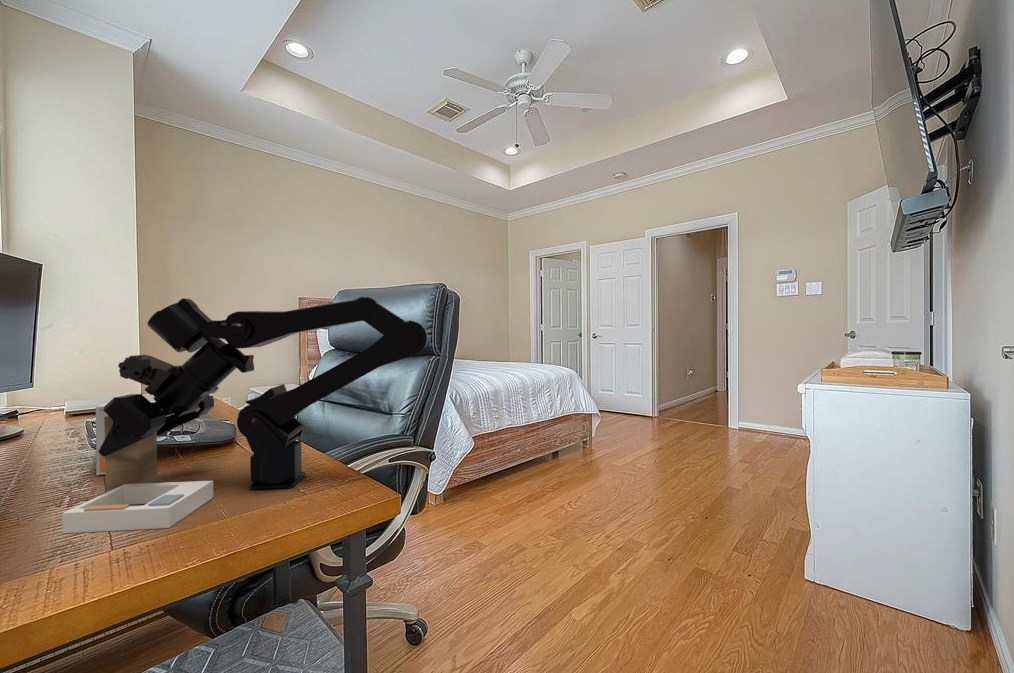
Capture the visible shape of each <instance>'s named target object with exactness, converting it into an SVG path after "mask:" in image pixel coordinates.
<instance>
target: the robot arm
mask: <svg viewBox="0 0 1014 673" xmlns="http://www.w3.org/2000/svg"><path fill="white" fill-rule="evenodd" d="M360 322H364V323H366V324H368V325H369V326H370V327H371V328H373V329H374V330H376V331H378V333H380V334H382V336H381V337H380V338H379V339H377V341H375V342H374V343H373V344H372V345H370V346H369V347H368V348H366V349H364V350H362V351H361V352H358V353H357V354H355V355H354V356H352V357H350V358H348V359H346V360H345V361H342V362H340V363H339V364H337V365H335V366H334V367H331V368H329V369H328V370H326V371H324V372H322V373H321V374H319V375H317V376H314V377H313V378H311V379H310V380H308V381H306V382H304V383H302V384H300V385H298V386H297V387H294V388H292V389H290V390H287V388H286V385H285V383H283V384H280V385H277V386H273V387H271V388H269V389H268V390H266V391H265V392H263V393H262V394H261V395H260V396H256V397H254V398H251V399H248V400H246V401H245V404H247V405H246V406H244V407H243V408H242V409H241V410H240V411H239V412H238V416H237V419H236V423H237V424H236V426H237V428H238V431H239V433H240V434H241V435H242V436H244V437H245V438H246V441H247V444H248V445H249V447H250V450H251V452H252V453H253V454H252V455H251V456H250V458H249V461H250V463H249V464H250V466H249V467H250V482H251V484H249V485H248V489H249V490H264V489H265V490H267V489H283V488H284V489H285V488H293V487H294V486H295V485H296V484H297V483H298V482H299V481H300V480H301V479H302V478H304V477H305V476H306V471H302V466H303V465H302V462H303V461H302V441H301V440H298V439H300V438H301V437H302V436H303V433H304V430H305V425H304V424H303V423H302V422H301V421H300V420H299V419H297V417H298V416H299V415H300V414H301V413H302V412H303V411H305V410H306V409H307V408H308V407H310V406H311V405H313V404H315V403H317V402H319V401H321V400H322V399H324V398H326V397H327V396H329V395H331V394H333V393H335V392H337V391H339V390H340V389H342V388H344V387H346V386H347V385H349V384H351V383H353V382H355V381H356V380H358V379H360V378H361V377H364V376H365V375H367V374H370V373H371V372H372V371H375V370H377V369H378V368H380V367H383V366H385V365H389V364H391V363H394V362H398V361H401V360H404V359H406V358H409V357H413V356H416V355H418V354H420V352H422V351H423V350H424V349H425V347H426V346H427V343H428V337H429V335H428V331H427V328H425V327H424V325H423V324H421V323H419V322H417V321H414V320H404V319H403V318H401V317H400V316H398V315H397V314H395V313H394V312H392V311H390V310H389V309H388V308H386V307H384V306H382V305H381V304H380V303H379V302H378V301H377V300H376V299H374V298H372V297H370V296H360V297H358V298H356V299H350V300H346V301H345V300H344V301H338V302H332V303H327V304H322V305H320V304H319V305H315V306H310V307H304V308H298V309H292V310H287V311H285V310H284V311H279V310H278V311H277V310H275V311H273V310H272V311H270V310H269V311H268V310H267V311H265V310H263V311H261V310H259V311H258V310H257V311H256V310H253V311H252V310H251V311H244V310H242V311H234V312H232V313H230V314H228V315H227V317H226V318H225V319H223V320H222V319H221V320H212V319H211V318H210V317H209V316H208V315H207V314H206V313H205V312H203V311H202V310H201V308H199V306H198V305H197V304H196V302H194V300H192V299H190V298H183V297H181V299H180V300H178V301H177V302H176V303H172V304H170V305H168V306H166V307H163V308H162V309H161V310H156V312H154V313H153V314H152V316H150V318H149V319H148V321H147V326H148V327H149V329H151V330H152V331H153V332H154V333H155V334H156V335H158V337H159V338H160V339H162V340H163V341H164V342H165V343H167V345H168V346H170V347H171V348H172V349H173V350H174V351H175V352H177V353H183V352H187V353H189V354H191V353H194V352H195V353H194V354H192V356H191V357H190V358H188V359H187V360H186V361H185V362H184V363H183V364H181V365H173V364H172V363H169V362H167V361H164V360H162V359H160V358H157V357H154V356H151V355H148V354H136V355H129V356H128V357H125V359H124V360H123V361H122V362H119V363H118V369H119V370H118V371H119V377H121V378H123V379H126V380H127V379H128V380H132V381H133V382H137V383H139V384H141V385H145V386H147V387H146V388H144V391H145V392H146V393H147V394H149V396H153V400H154V401H155V402H154V403H152V402H151V401H150V400H149V399H147V397H145V396H144V395H143V394H142V393H131V394H126V395H125V394H124V395H121V396H116V397H113V398H112V399H111V400H110V401H109V402H107V403H108V404H107V405H106V406H104V407H103V409H104V412H105V413H107V415H108V416H109V417H110V418H111V419H112V421H113V424H112V426H111V429H110V431H109V433H108V435H107V436H106V438H105V440H104V442H103V444H102V446H101V447H100V449H99V451H98V452H99V453H100V454H101V455H102V456H104V457H105V456H107V455H110V454H112V453H114V452H116V451H118V450H121V449H123V448H125V447H127V446H129V445H132V444H134V443H136V442H138V441H140V440H143V439H145V438H147V437H149V436H151V435H153V434H154V432H156V431H157V437H158V436H160V435H162V434H165V433H167V432H168V431H171V430H175V429H176V428H178V427H180V426H182V425H185V424H187V423H189V422H191V421H194V420H196V419H199V418H200V417H201V416H204V415H207V414H208V413H209V412H210V411H211V410H212V409H214V407H215V399H214V398H213V396H211V394H215V393H216V392H217V391H218V390H220V388H219V387H218V386H219V385H220V384H221V383H222V382H224V380H225V379H227V378H228V377H229V376H230V375H231V374H232V373H233V372H234V371H235V370H236V369H237V370H238V371H239V372H241V373H242V374H243V373H244V374H245V373H249V372H253V371H255V364H254V358H255V356H254V354H244V353H243V352H242V351H241V350H240V349H252V348H261V347H265V346H267V345H270V344H272V343H276V342H278V341H281V340H283V339H286V338H288V337H290V336H294V335H295V334H299V333H305V332H306V333H307V332H310V331H315V330H322V329H328V328H333V327H339V326H342V325H343V326H344V325H349V324H355V323H360ZM223 340H225V341H226V342H227V343H226V342H224V341H223Z"/></svg>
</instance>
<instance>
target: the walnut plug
mask: <svg viewBox="0 0 1014 673" xmlns="http://www.w3.org/2000/svg"><path fill="white" fill-rule="evenodd" d="M104 424H105V438H106V436H107V435H108V433H109V431H110V429H111V426H112V424H113V421H112V419H111V418H110V417H109V416H106V417H104ZM157 438H158V436H157V431H156V432H154V434H153V435H151V436H149V437H147V438H145V439H143V440H140V441H138V442H136V443H134V444H132V445H129V446H127V447H125V448H123V449H121V450H118V451H116V452H114V453H112V454H110V455H107V456H105V474H104V475H105V493H107V492H109V491H111V490H113V489H115V488H118V487H120V486H122V485H124V484H144V483H158V445H157V444H158V443H157V440H158V439H157Z"/></svg>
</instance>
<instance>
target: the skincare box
mask: <svg viewBox="0 0 1014 673" xmlns="http://www.w3.org/2000/svg"><path fill="white" fill-rule="evenodd" d="M108 403H109V402H105V403H102V404H99V405H97V406H96V407H95V468H96V469H95V475H96V476H103V475H105V457H104V456H102V455H101V454H100V453H99V452H98V451H99V449H100V447H101V446H102V444H103V442H104V440H105V424H104V417H106V416H108V415H107V413H105V412H104V409H103V407H104V406H106V405H107V404H108Z"/></svg>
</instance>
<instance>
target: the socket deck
mask: <svg viewBox="0 0 1014 673" xmlns="http://www.w3.org/2000/svg"><path fill="white" fill-rule="evenodd" d="M213 498H214V480H198V481H197V480H196V481H195V480H194V481H192V480H191V481H173V482H170V481H169V482H157V483H144V484H124V485H122V486H120V487H118V488H115V489H113V490H111V491H109V492H107V493H106V492H105V493H102V494H101V495H99V496H96V497H94V498H92V499H90V500H87V501H85V502H83V503H81V504H78V505H76V506H75V507H72V508H70V509H68V510H66V511H64V512H62V513H61V514H62V516H61V517H62V522H61V524H62V534H77V533H78V534H79V533H80V534H81V533H94V532H95V533H97V532H100V533H101V532H116V531H134V530H135V531H137V530H154V529H155V530H157V529H169V528H171V527H172V526H174V525H176V524H177V523H178V522H180V521H182V520H183V519H185V518H186V517H188V515H191V513H193V512H194V511H196V510H197V509H199V508H201V507H202V506H203V505H205V504H206V503H208V502H209V501H211V500H212V499H213ZM143 504H144V505H143Z"/></svg>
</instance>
